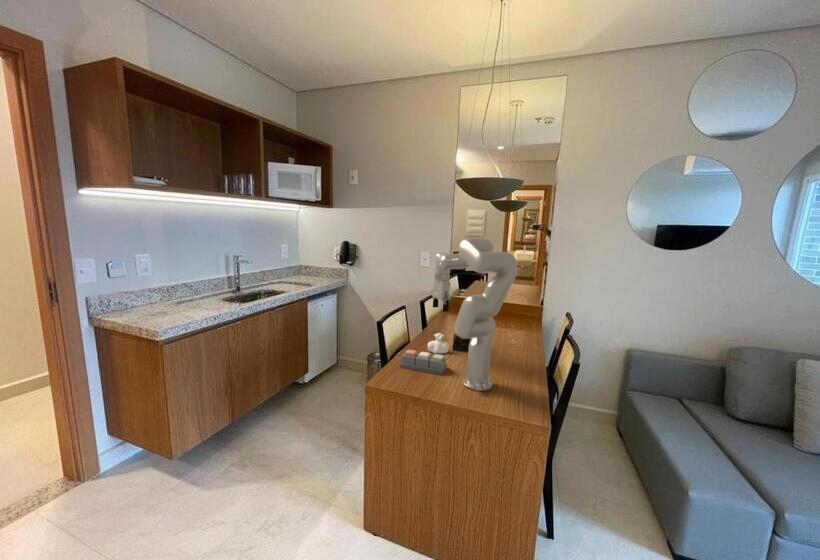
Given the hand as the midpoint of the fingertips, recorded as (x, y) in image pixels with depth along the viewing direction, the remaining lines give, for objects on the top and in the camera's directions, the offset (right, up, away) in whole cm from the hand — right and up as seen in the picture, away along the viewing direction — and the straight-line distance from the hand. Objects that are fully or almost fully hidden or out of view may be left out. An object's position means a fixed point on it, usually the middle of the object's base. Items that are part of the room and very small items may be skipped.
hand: (440, 309), depth 175 cm
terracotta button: (-16, -23, -10) cm, 30 cm away
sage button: (-3, -24, -15) cm, 29 cm away
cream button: (-9, -24, -13) cm, 28 cm away
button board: (-9, -27, -12) cm, 31 cm away
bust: (0, -25, +10) cm, 26 cm away
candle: (+14, -24, +16) cm, 32 cm away
